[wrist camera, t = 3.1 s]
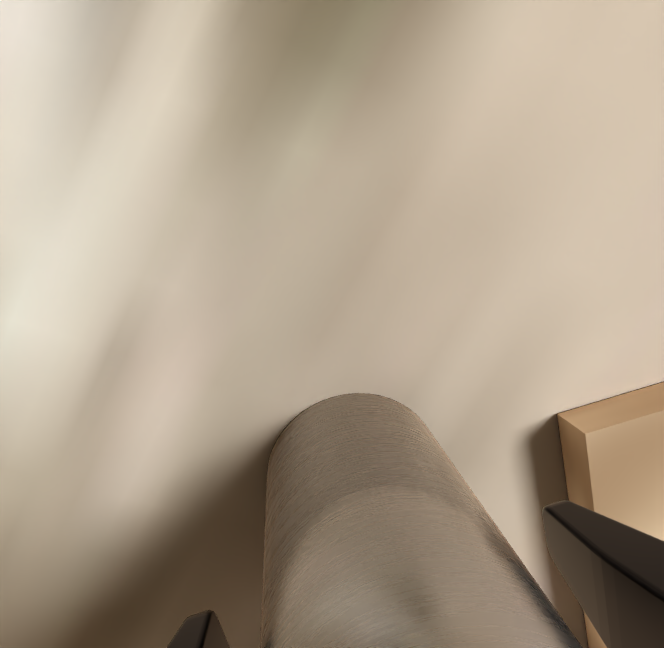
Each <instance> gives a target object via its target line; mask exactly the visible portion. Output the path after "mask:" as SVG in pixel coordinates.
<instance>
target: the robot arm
mask: <svg viewBox="0 0 664 648" xmlns="http://www.w3.org/2000/svg"><path fill="white" fill-rule="evenodd" d="M542 517H543V523H544V530H545V536H546V543H547V548H548V551H549V553H550V556H551V558H552V560H553V561H554V563H555V565H556V566H557V568H558V570H559V571H560V573H561V574H562V576H563V578H564V579H565V581H566V583H567V584H568V586H569V587H570V589H571V591H572V592H573V594H574V595H575V597H576V599H577V600H578V602H579V604H580V605H581V607H582V608H583V610H584V612H585V613H586V615H587V616H588V618H589V620H590V621H591V623H592V625H593V626H594V628H595V629H596V631H597V633H598V634H599V636H600V637H601V639H602V641H603V642H604V644H605V645H606V647H607V648H664V541H663V540H660V539H658V538H656V537H653V536H651V535H649V534H646V533H644V532H641V531H639V530H637V529H634V528H632V527H630V526H627V525H625V524H623V523H620V522H618V521H616V520H613V519H611V518H608V517H606V516H604V515H601V514H599V513H597V512H594V511H592V510H590V509H587V508H585V507H583V506H580V505H578V504H576V503H573V502H571V501H567V500H561V501H558V502H555V503H552V504H549V505H546V506H544V507H543V509H542ZM167 648H229V645H228V642H227V640H226V637H225V635H224V633H223V630H222V628H221V625H220V623H219V620H218V618H217V616H216V614H215V613H214V612H213V611H210V610H208V611H205V612H202V613H198V614H195V615H192V616H190V617H188V618H187V619H186V620H185V621H184V622H183V624H182V625H181V627H180V628H179V630H178V631H177V633H176V634H175V636H174V637H173V639H172V640H171V642H170V643H169V645H168V646H167Z"/></svg>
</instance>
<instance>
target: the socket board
mask: <svg viewBox="0 0 664 648" xmlns="http://www.w3.org/2000/svg"><path fill="white" fill-rule="evenodd" d="M557 416H558V423H559V431H560V438H561V446H562V453H563V460H564V468H565V475H566V483H567V490H568V498H569V501H571V502H573V503H576V504H578V505H580V506H583V507H585V508H587V509H590V510H592V511H594V512H597V513H599V514H601V515H604V516H606V517H608V518H611V519H613V520H616V521H618V522H620V523H623V524H625V525H627V526H630V527H632V528H634V529H637V530H639V531H641V532H644V533H646V534H649V535H651V536H653V537H656V538H658V539H660V540H663V541H664V382H662V383H659V384H655V385H652V386H649V387H645V388H642V389H639V390H635V391H632V392H629V393H625V394H622V395H619V396H615V397H612V398H609V399H605V400H602V401H599V402H595V403H592V404H589V405H585V406H582V407H579V408H575V409H572V410H569V411H565V412H562V413H559V414H557ZM584 617H585V624H586V632H587V639H588V647H589V648H607V647H606V645H605V644H604V642H603V641H602V639H601V637H600V636H599V634H598V633H597V631H596V629H595V628H594V626H593V625H592V623H591V621H590V620H589V618H588V616H587V615H586V613H585V612H584Z"/></svg>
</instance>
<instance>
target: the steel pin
mask: <svg viewBox="0 0 664 648" xmlns="http://www.w3.org/2000/svg"><path fill="white" fill-rule="evenodd" d="M260 648H582V646H581V645H580V643H579V642H578V641H577V639H576V638H575V636H574V635H573V634H572V632H571V631H570V629H569V628H568V626H567V625H566V624H565V622H564V621H563V619H562V618H561V617H560V615H559V614H558V612H557V611H556V609H555V608H554V607H553V605H552V604H551V602H550V601H549V599H548V598H547V597H546V595H545V594H544V592H543V591H542V590H541V588H540V587H539V585H538V584H537V582H536V581H535V580H534V578H533V577H532V575H531V574H530V573H529V571H528V570H527V568H526V567H525V565H524V564H523V563H522V561H521V560H520V558H519V557H518V556H517V554H516V553H515V551H514V550H513V548H512V547H511V546H510V544H509V543H508V541H507V540H506V538H505V537H504V536H503V534H502V533H501V531H500V530H499V529H498V527H497V526H496V524H495V523H494V521H493V520H492V519H491V517H490V516H489V514H488V513H487V512H486V510H485V509H484V507H483V506H482V504H481V503H480V502H479V500H478V499H477V497H476V496H475V495H474V493H473V492H472V490H471V489H470V487H469V486H468V485H467V483H466V482H465V480H464V479H463V477H462V476H461V475H460V473H459V472H458V470H457V469H456V468H455V466H454V465H453V463H452V462H451V460H450V459H449V458H448V456H447V455H446V453H445V452H444V451H443V449H442V448H441V446H440V445H439V443H438V442H437V441H436V439H435V438H434V436H433V435H432V434H431V432H430V431H429V429H428V428H427V426H426V425H425V424H424V422H423V421H422V420H421V419H420V418H419V417H418V416H417V415H416V414H415V413H414V412H413V411H411V410H410V409H409V408H407V407H406V406H404V405H403V404H401V403H399V402H397V401H395V400H392V399H390V398H387V397H383V396H380V395H374V394H364V393H354V394H344V395H340V396H335V397H332V398H329V399H326V400H323V401H321V402H319V403H317V404H315V405H313V406H311V407H309V408H308V409H306V410H305V411H303V412H302V413H300V414H299V415H298V416H297V417H296V418H295V419H293V420H292V421H291V422H290V424H289V425H288V426H287V427H286V428H285V429H284V430H283V432H282V433H281V435H280V436H279V438H278V439H277V441H276V443H275V445H274V447H273V450H272V452H271V455H270V458H269V463H268V468H267V488H266V513H265V538H264V562H263V587H262V611H261V636H260Z"/></svg>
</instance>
